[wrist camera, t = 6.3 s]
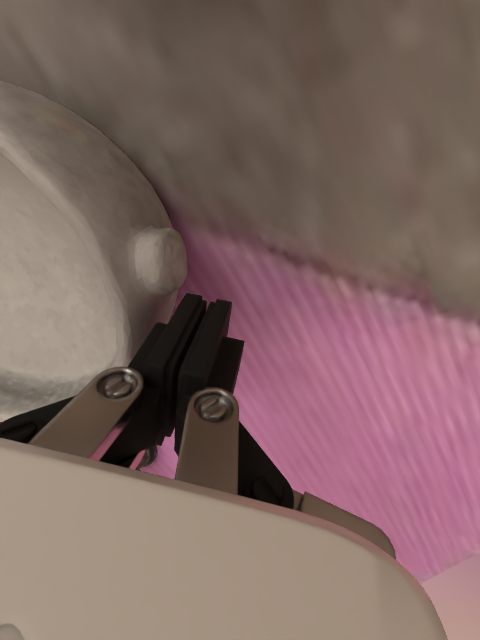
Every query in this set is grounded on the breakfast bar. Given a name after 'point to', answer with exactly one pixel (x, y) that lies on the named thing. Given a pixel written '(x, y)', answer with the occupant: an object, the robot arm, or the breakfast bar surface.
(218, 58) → the breakfast bar surface
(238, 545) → the robot arm
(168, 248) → the dish
